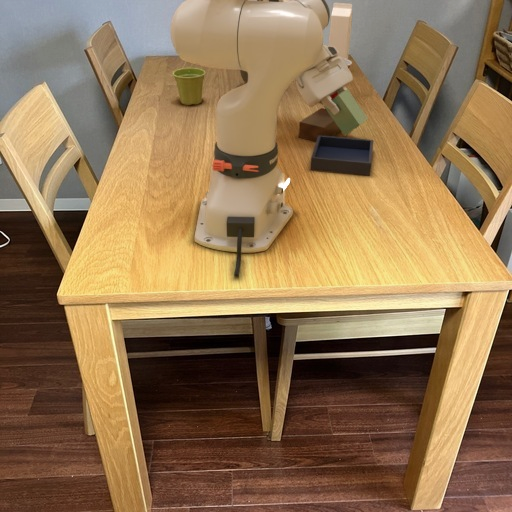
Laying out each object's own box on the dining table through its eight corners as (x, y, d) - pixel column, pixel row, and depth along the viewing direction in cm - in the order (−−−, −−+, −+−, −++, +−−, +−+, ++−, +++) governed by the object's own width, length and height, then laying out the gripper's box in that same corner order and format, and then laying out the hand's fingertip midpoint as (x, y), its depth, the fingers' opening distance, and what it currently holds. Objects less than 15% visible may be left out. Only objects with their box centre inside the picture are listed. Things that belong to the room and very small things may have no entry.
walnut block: (298, 137, 142) (299, 121, 140) (320, 122, 150) (321, 107, 148) (322, 143, 139) (324, 127, 137) (343, 128, 147) (345, 113, 145)
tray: (369, 176, 124) (371, 163, 123) (310, 170, 127) (311, 157, 125) (371, 151, 135) (373, 139, 133) (317, 146, 137) (318, 135, 136)
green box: (322, 130, 141) (325, 92, 135) (331, 124, 145) (334, 86, 139) (358, 139, 137) (362, 99, 131) (366, 132, 140) (371, 93, 135)
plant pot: (168, 104, 162) (165, 74, 157) (186, 94, 168) (184, 65, 163) (195, 109, 158) (193, 79, 153) (212, 99, 165) (211, 70, 160)
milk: (329, 70, 190) (334, 0, 178) (346, 72, 189) (353, 1, 176) (326, 75, 185) (331, 4, 173) (344, 77, 184) (350, 5, 171)
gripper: (299, 64, 127) (334, 114, 128) (338, 45, 141) (369, 90, 142) (282, 80, 131) (315, 128, 133) (321, 60, 146) (351, 104, 147)
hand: (343, 108), depth 138 cm, fingers closed on green box, 5 cm apart
